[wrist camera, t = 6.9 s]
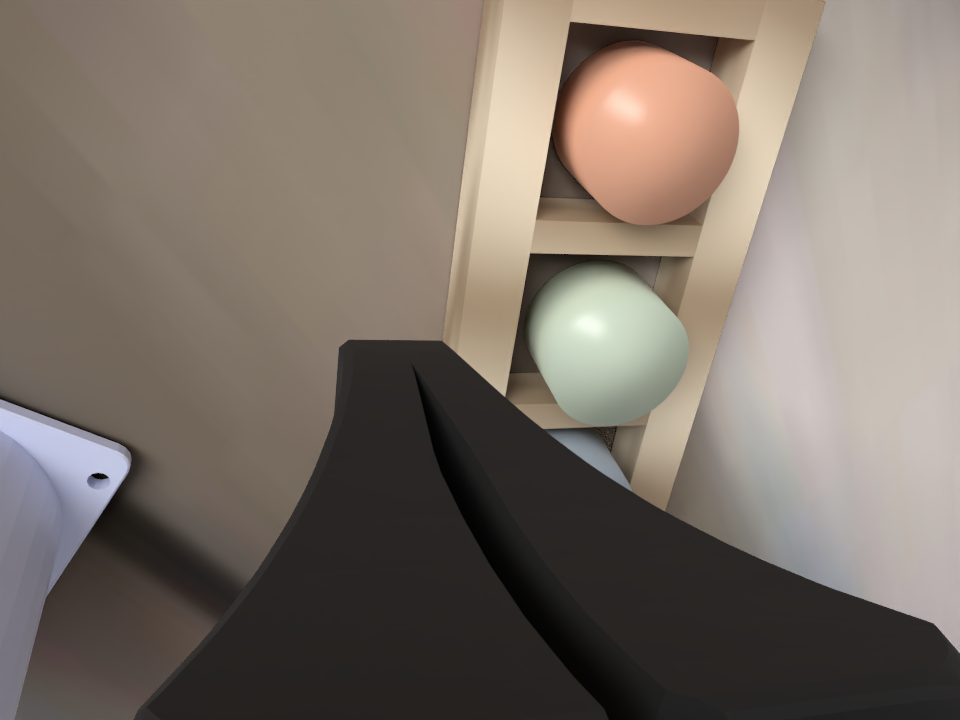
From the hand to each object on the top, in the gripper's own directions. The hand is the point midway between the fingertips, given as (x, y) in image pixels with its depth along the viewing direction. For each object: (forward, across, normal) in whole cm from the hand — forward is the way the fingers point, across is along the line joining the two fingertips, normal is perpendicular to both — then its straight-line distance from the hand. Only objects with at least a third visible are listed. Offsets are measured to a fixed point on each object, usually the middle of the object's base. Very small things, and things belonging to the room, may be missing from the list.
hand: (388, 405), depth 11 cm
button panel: (+9, -7, +3) cm, 12 cm away
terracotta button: (+10, -6, -2) cm, 12 cm away
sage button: (+9, -7, +3) cm, 12 cm away
